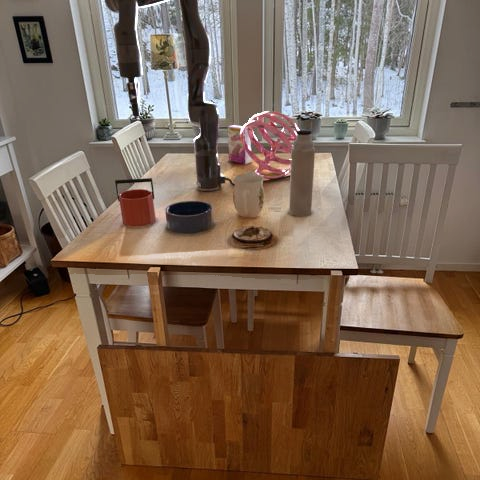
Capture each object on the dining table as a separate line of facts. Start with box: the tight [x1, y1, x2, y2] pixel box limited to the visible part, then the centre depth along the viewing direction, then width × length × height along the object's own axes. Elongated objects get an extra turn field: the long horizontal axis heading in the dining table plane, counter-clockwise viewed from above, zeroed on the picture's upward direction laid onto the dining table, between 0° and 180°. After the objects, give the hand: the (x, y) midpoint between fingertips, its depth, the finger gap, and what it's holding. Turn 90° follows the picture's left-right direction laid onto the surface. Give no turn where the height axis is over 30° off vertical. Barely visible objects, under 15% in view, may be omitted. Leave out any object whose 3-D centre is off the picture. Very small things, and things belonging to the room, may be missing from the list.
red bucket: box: [114, 177, 157, 228], centre depth 162 cm, size 11×12×15 cm
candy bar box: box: [227, 124, 252, 165], centre depth 229 cm, size 11×5×16 cm, turn 49°
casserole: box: [164, 200, 214, 235], centre depth 159 cm, size 16×16×6 cm
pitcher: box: [232, 170, 265, 219], centre depth 165 cm, size 11×18×14 cm, turn 170°
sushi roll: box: [231, 225, 277, 251], centre depth 149 cm, size 15×15×4 cm
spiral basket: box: [240, 110, 300, 180], centre depth 204 cm, size 28×28×27 cm
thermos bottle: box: [288, 129, 316, 217], centre depth 163 cm, size 8×8×28 cm
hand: (137, 114), depth 161 cm, fingers open, 8 cm apart
